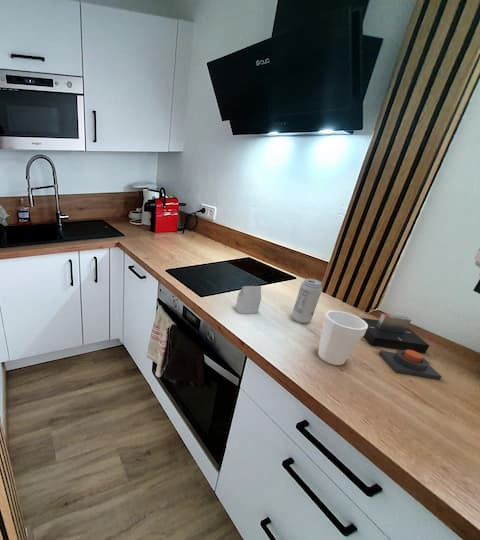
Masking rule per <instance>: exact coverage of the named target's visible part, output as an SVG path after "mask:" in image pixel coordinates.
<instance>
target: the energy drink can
mask: <svg viewBox="0 0 480 540" xmlns="http://www.w3.org/2000/svg"><path fill="white" fill-rule="evenodd" d="M322 290H323V286H322V282H321V281H320V280H318V279H315V278H305V279H304V280H303V282H302V283H301V284H300V287H299V289H298V293H297V296H296V299H295V303H294V305H293V309H292V313H291V317H292V319H293V320H294V321H295V322H297V323H299V324H304V325H305V324H308V323H310V322H312V319H313V317H314V314H315V311H316V308H317V305H318V303H319V301H320V300H319V299H320V296H321V294H322V292H323V291H322Z"/></svg>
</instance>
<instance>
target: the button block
mask: <svg viewBox="0 0 480 540" xmlns="http://www.w3.org/2000/svg"><path fill="white" fill-rule="evenodd" d="M404 352H405V350H399V349H397V350H396V351H395V352H392V351H387V350H386V351H385V350H379V353H378V354H379V356H380V357H381V358H382V359H383V360H384V361H385V362H386V363H387V365H388V366H389V367H390V368H391V369H392V370H393V372H395V373H397V374H402V375H409V376H415V377H421V378H427V379H433V380H437V381H440V380H441V378H442V375H441V374H440V373H439V372H437V370H435V368H433V367H432V365H430V364H429V361H428V360H427V359H426V358H424V357H423V359H422V360H421V362H420V363H416V362H413V361H410V360H408V359H406V358H405V357H404V356H403V354H404Z"/></svg>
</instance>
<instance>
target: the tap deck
mask: <svg viewBox="0 0 480 540" xmlns="http://www.w3.org/2000/svg"><path fill="white" fill-rule="evenodd" d="M360 318H361V319H362V320H364V321H365V322H366V323H367V324H368V328H367V330H366V333H365V335H364V336H363V338H364V339H365V340H366V341H367V343H369V345H370V346H372V347H373V346H374V347H379V348H387V349H393V350H413V351H416V352H418V353H420V354H426V353H427V351H428V349H429V348H430V344H428V343H427V342H426V340H424V339H423V338H421V337H420V336H419V335H418V334H416V333H415V332H414V331H413V330H412V329H411V328H409V327H408V328H407V330H406V331H405V333H399V332H392V331H385V330H379V329H378V328H377V327H376V325H377V323H378V321H379V319H375V318H374V319H373V318H366V317H360Z"/></svg>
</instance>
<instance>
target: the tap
mask: <svg viewBox="0 0 480 540" xmlns="http://www.w3.org/2000/svg"><path fill="white" fill-rule="evenodd" d="M378 320H379V321H378V323H377V325H376V327H377V328H378V329H379V330H385V331H392V332H399V333H405V331H406V330H407V328H409V326H410V324H411V322H412V319H410V318H409V316H402V315H394V314H388V313H381V314H380V316H379V319H378Z"/></svg>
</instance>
